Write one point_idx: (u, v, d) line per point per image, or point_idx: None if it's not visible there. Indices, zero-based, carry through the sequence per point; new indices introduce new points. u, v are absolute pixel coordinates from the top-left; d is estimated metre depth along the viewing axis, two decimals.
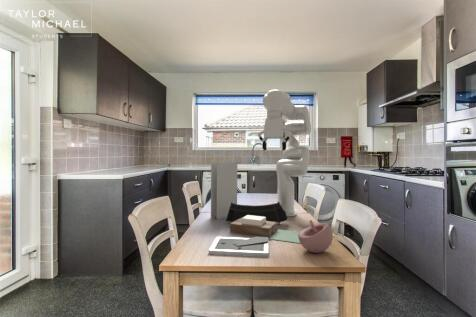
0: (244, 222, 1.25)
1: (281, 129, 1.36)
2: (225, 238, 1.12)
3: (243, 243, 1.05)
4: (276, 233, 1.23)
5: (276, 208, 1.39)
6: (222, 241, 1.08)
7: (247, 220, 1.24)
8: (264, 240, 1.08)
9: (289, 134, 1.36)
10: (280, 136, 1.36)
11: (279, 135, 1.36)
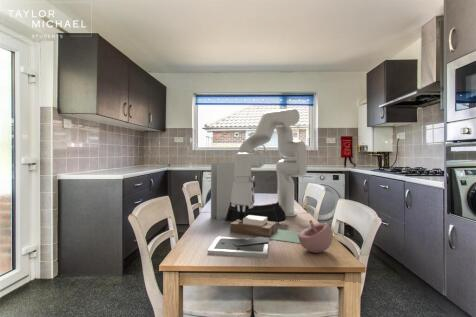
0: (245, 222, 1.24)
1: (249, 196, 1.25)
2: (226, 238, 1.12)
3: (243, 243, 1.05)
4: (276, 233, 1.23)
5: (275, 208, 1.39)
6: (222, 241, 1.08)
7: (248, 220, 1.24)
8: (264, 240, 1.07)
9: (250, 206, 1.26)
10: (248, 204, 1.25)
11: (247, 203, 1.25)
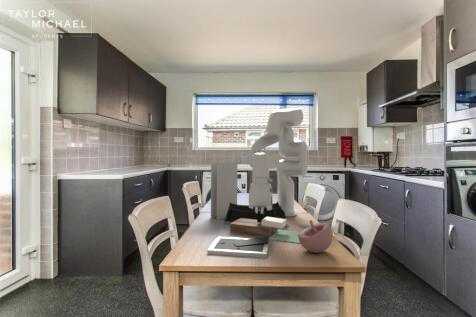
0: (264, 224, 1.21)
1: (267, 198, 1.21)
2: (226, 238, 1.12)
3: (243, 243, 1.05)
4: (276, 233, 1.23)
5: (275, 208, 1.39)
6: (222, 241, 1.08)
7: (267, 222, 1.20)
8: (264, 241, 1.07)
9: (269, 208, 1.23)
10: (266, 205, 1.22)
11: (265, 204, 1.22)
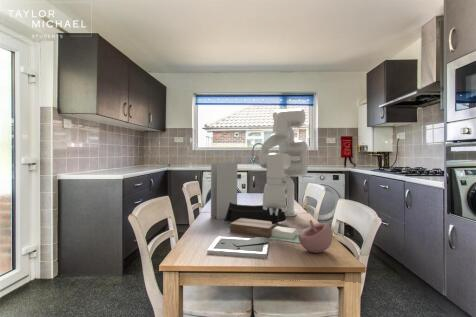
0: (274, 234, 1.19)
1: (282, 199, 1.19)
2: (226, 238, 1.12)
3: (243, 243, 1.05)
4: None
5: (275, 208, 1.39)
6: (222, 241, 1.08)
7: (277, 232, 1.19)
8: (264, 241, 1.07)
9: (284, 209, 1.20)
10: (281, 207, 1.19)
11: (280, 206, 1.19)
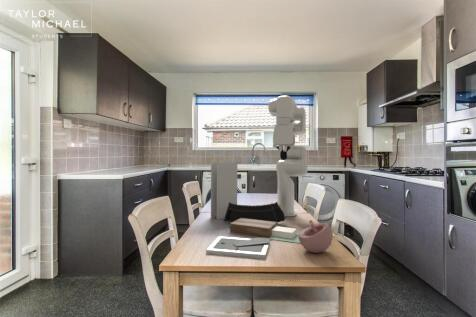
0: (274, 234, 1.19)
1: (291, 136, 1.33)
2: (226, 238, 1.12)
3: (242, 244, 1.04)
4: None
5: (274, 208, 1.39)
6: (222, 241, 1.08)
7: (277, 232, 1.19)
8: (265, 241, 1.06)
9: (292, 146, 1.34)
10: (290, 143, 1.33)
11: (289, 142, 1.33)
